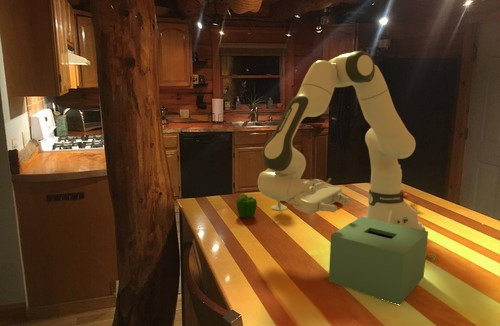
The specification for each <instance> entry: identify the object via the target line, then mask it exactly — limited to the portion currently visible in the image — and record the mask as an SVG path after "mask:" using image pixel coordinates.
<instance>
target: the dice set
mask: <svg viewBox="0 0 500 326" xmlns="http://www.w3.org/2000/svg"><path fill="white" fill-rule="evenodd" d="M426 255H427V256H426V257H427V258H428V257H429V258H428V259H432V260H436V261H437V260H438V259H437V255H435V254H434V253H431V252H429V253H428V252H426ZM432 260H431V261H432Z"/></svg>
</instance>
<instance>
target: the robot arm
mask: <svg viewBox="0 0 500 326" xmlns="http://www.w3.org/2000/svg"><path fill="white" fill-rule="evenodd" d="M350 86H352V87H353V88H354V89H355V94H356V98H357V99H358V104H359V105H360V109H361V111H362V114H363V116H364V117H363V118H364V119H365V121H366V122H367V123H368V124H369V127H370V128H369V129H368V130H367V132H366V133H365V136H364V137H365V138H364V141H365V144H366V146H367V149H368V155H369V160H370V161H369V162H370V169H371V172H370V173H371V175H370V188H369V190H368V196H367V198H368V202H367V203H368V207H367V212H366V216H365V218H370V219H374V220H379V221H383V222H388V223H392V224H397V225H401V226H406V227H410V228H414V229H419V230H423V231H425V230H424V229H425V226H424V224H423V223H422V222H421V221H419V215H418V212H417V211H416V209H414V207H412V206H411V205H410V204H408V203H407V202H406V201H405V200H409V199H410V196H411V195H410V194H408V193H406V192H405V193H404V192H402V191H401V189H402V188H401V186H402V179H401V176H402V177H403V171H402V172H401V170H402V168H401V167H399V165H398V163H399V159H407V158H408V157H411V155H412V154H413V153H414V151H415V149H416V140H415V137H414V136H413V135H412V134H411V133H410V132H409V130H408V129H407V128H406V125H405V124H404V122H403V120H402V119H401V117H400V116H399V113H398V112H397V110H396V108H395V105H394V103H393V100H392V97H391V94H390V90H389V88H388V85H387V83H386V80H385V78H384V76H383V73H382V72H381V70H380V69H379V67H378V65H376V64H375V61H374V60H373V57H372V56H371V54H369V53H368V52H367V51H363V50H357V51H356V50H355V51H352V52H346V53H343V54H339V55H338V56H335V57H334V58H329V59H328V60H323V59H321V60H320V59H319V60H317V61H314V62H313V63H312V64H311V66H310V67H309V69H308V71H307V73H306V74H305V76H304V78H303V81H302V83H301V86H300V87H299V90H298V92H297V94H296V96H295V97H293V98H292V99H291V101H290V102H289V103H288V105H287V107H286V108H285V111H284V113H283V115H282V116H281V118H280V121H279V122H278V124H277V127H276V128H275V130H274V132H273V134H272V135H271V136H270V138H269V139H268V140H267V141H266V143H265V144H264V145H263V148H262V151H261V161H262V163H263V165H264V166H265V167H266V168H267V169H265V170H264V171H262V172H260V173H259V176H258V178H257V188H258V190H259V192H260V193H261V194H262V195H263V196H265V197H267V198H270V199H272V200H276V201H280V202H286V203H287V204H288V205H291V206H293V209H296V210H298V211H300V212H301V213H305V214H309V215H314V214H316V213H318V212H331V213H335V212H336V211H337V209H338V206H337V205H335V204H334V203H335V202H341V203H342V204H345V205H348V204H350V203H351V198H350V197H348V196H346V195H344V194H342V191H343V190H342V188H341V187H339V186H336V185H333V184H331V183H323V182H320V180H321V179H319V180H318V178H313V179H312V178H311V179H305V178H302V177H303V175H304V173H305V171H306V168H307V160H306V157H305V155H304V154H303V153H302V152H300V151H299V150H298V149H296V148H295V147H294V146H293V140H294V138H295V135H296V133H297V131H298V130H299V127H300V125H301V124H302V121H303V120H304V119H305V118H307V117H310V118H314V117H315V118H316V117H319V116H321V115H323V114H324V113H325V112H326V111H327V109H328V106H329V104H330V103H331V100H332V96H333V94H334V92H335V89H336V88H346V87H350ZM400 168H401V169H400ZM400 188H401V189H400Z"/></svg>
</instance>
